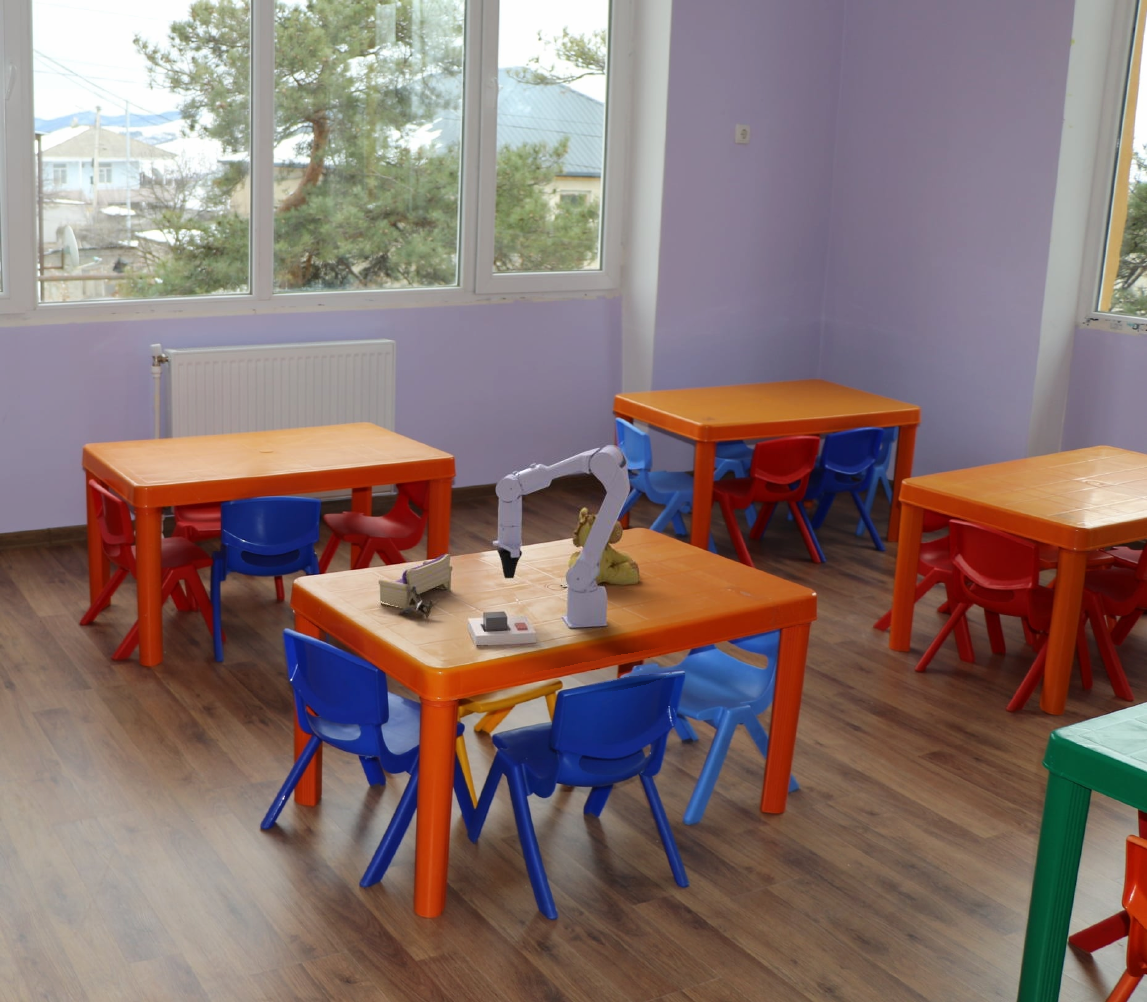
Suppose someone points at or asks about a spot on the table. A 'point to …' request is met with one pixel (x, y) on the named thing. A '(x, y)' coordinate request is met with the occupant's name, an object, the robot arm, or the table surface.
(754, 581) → the table surface
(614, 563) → the giraffe plush
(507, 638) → the socket
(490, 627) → the plug
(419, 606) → the eagle figurine
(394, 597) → the toy sofa
